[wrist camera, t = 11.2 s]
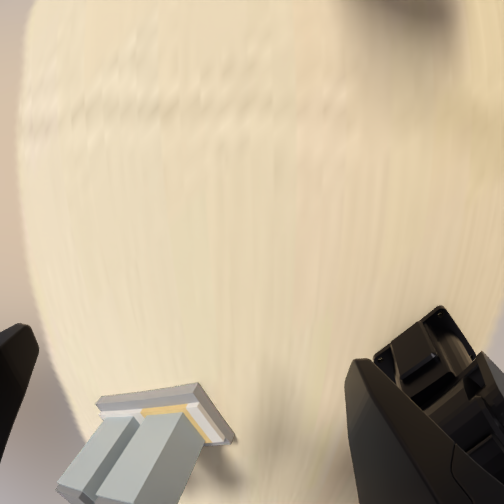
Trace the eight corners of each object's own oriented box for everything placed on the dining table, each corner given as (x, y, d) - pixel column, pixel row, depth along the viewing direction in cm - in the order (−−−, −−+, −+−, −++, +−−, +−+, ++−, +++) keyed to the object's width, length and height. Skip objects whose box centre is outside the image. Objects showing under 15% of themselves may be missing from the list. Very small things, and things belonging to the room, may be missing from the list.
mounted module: (133, 416, 27) (77, 497, 17) (155, 442, 28) (109, 522, 18) (106, 417, 28) (52, 487, 18) (127, 442, 29) (81, 512, 19)
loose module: (182, 412, 25) (128, 510, 15) (205, 440, 26) (162, 536, 16) (146, 415, 26) (91, 501, 16) (169, 442, 27) (123, 526, 17)
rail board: (198, 382, 26) (190, 397, 24) (234, 433, 27) (229, 448, 26) (101, 396, 30) (92, 407, 28) (136, 439, 32) (129, 450, 30)
